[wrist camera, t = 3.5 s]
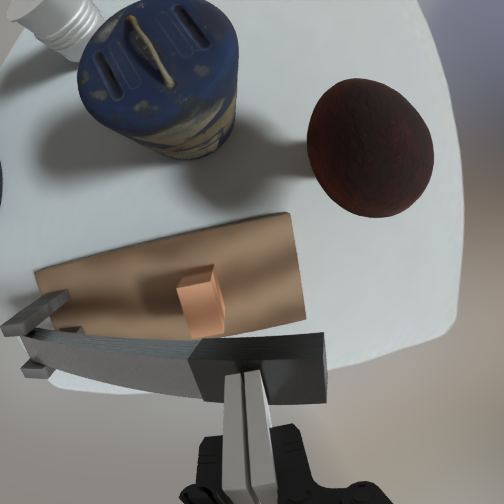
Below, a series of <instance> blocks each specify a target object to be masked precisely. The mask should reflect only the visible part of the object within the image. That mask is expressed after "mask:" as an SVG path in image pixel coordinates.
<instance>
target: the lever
mask: <svg viewBox="0 0 504 504" xmlns="http://www.w3.org/2000/svg"><path fill="white" fill-rule="evenodd" d="M20 338H21V340H22V342H23V344H24V346H25V348H26V350H27V352H28V354H29V356H30V358H31V360H32V362H33V363H40V364H43V365H46V366H49V367H52V368H55V369H58V370H61V371H64V372H68V373H71V374H74V375H78V376H81V377H85V378H89V379H92V380H96V381H100V382H104V383H109V384H113V385H117V386H122V387H127V388H132V389H137V390H142V391H148V392H154V393H160V394H167V395H174V396H182V397H189V398H190V397H191V398H199V399H203V400H204V401H207V402H217V403H224V390H225V376H226V375H233V374H239V373H240V374H241V378H242V381H243V384H244V388H245V377H244V372H250V371H255V370H260V374H261V378H262V382H263V386H264V390H265V394H266V398H267V402H268V405H298V404H320V403H327V402H326V401H327V379H328V376H327V362H326V350H325V338H324V332H320V333H309V334H297V335H282V336H265V337H241V338H202V340H158V339H137V338H122V337H109V336H98V335H88V334H78V333H70V332H62V331H55V330H48V329H41V328H34V329H33V330H31V331H30V332H29V333H28V334H27V335H24V336H20Z"/></svg>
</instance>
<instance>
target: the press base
mask: <svg viewBox="0 0 504 504" xmlns="http://www.w3.org/2000/svg"><path fill="white" fill-rule="evenodd" d="M35 276H36V279H37V282H38V285H39V288H40V291H41V294H42V297H40V298H39V299H38V300H36V301H35V302H33V303H32V304H30V305H29V306H27V307H26V308H25V309H23V310H22V311H20V312H19V313H18V314H16V315H15V316H13V317H12V318H11V319H9V320H8V321H6V322H5V323H4V324H2V325H1V326H0V328H1V330H2V332H3V334H4V336H5V337H9V336H24V335H27V334H28V333H29V332H30V331H31V330H33V329H34V328H35V327H36V326H37V325H38V324H40V323H41V322H42V321H43V320H44V319H46V318H47V317H48V316H49V315H50V317H51V320H52V322H53V325H54V327H55V329H56V331H62V332H70V333H78V334H88V335H98V336H109V337H122V338H137V339H158V340H202V338H220V337H226V336H231V335H236V334H242V333H247V332H252V331H257V330H261V329H266V328H271V327H275V326H280V325H284V324H289V323H293V322H297V321H301V320H306V312H305V305H304V298H303V291H302V284H301V278H300V271H299V264H298V258H297V252H296V246H295V240H294V234H293V228H292V222H291V216H290V213H288V212H283V213H278V214H273V215H267V216H262V217H258V218H253V219H248V220H243V221H238V222H233V223H228V224H224V225H219V226H214V227H210V228H205V229H201V230H196V231H192V232H187V233H183V234H178V235H174V236H170V237H165V238H161V239H157V240H153V241H148V242H144V243H140V244H136V245H132V246H128V247H124V248H120V249H116V250H112V251H108V252H104V253H100V254H96V255H92V256H88V257H85V258H81V259H77V260H73V261H70V262H66V263H62V264H58V265H55V266H51V267H48V268H44V269H42V270H40V271H38V272H36V273H35ZM55 370H56V369H55V368H52V367H49V366H46V365H43V364H40V363H33V362H32V360H31V358H30V359H29V360H28V361H27V362H26V363H25V364H24V365H23V366H22V367H21V371H22V372H23V374H24V376H25V377H26V378H39V379H48V378H49V377H50V376H51V375H52V373H53V372H54V371H55Z"/></svg>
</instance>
